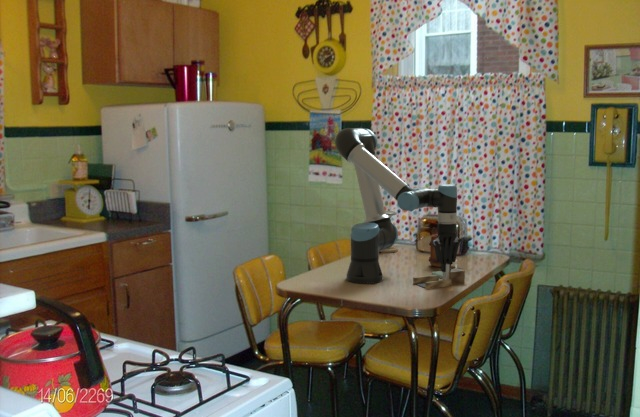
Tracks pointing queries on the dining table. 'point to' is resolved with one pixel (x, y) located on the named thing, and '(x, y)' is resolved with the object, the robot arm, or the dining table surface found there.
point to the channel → (431, 282)
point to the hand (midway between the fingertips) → (445, 279)
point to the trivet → (438, 273)
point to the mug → (433, 253)
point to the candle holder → (393, 248)
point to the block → (456, 276)
